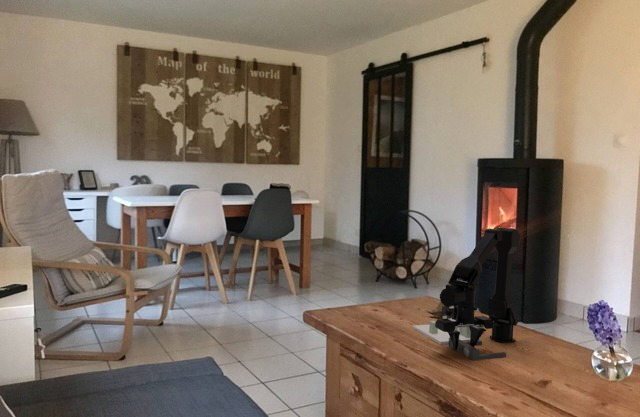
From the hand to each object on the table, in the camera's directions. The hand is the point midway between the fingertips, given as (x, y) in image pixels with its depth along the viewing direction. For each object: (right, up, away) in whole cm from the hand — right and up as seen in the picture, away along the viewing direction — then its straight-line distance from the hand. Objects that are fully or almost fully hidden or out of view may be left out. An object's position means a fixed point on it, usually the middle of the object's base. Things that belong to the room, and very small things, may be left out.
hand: (463, 349), depth 176 cm
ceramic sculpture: (+5, +1, +43) cm, 44 cm away
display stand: (-1, 0, +20) cm, 20 cm away
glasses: (+5, -1, +2) cm, 5 cm away
